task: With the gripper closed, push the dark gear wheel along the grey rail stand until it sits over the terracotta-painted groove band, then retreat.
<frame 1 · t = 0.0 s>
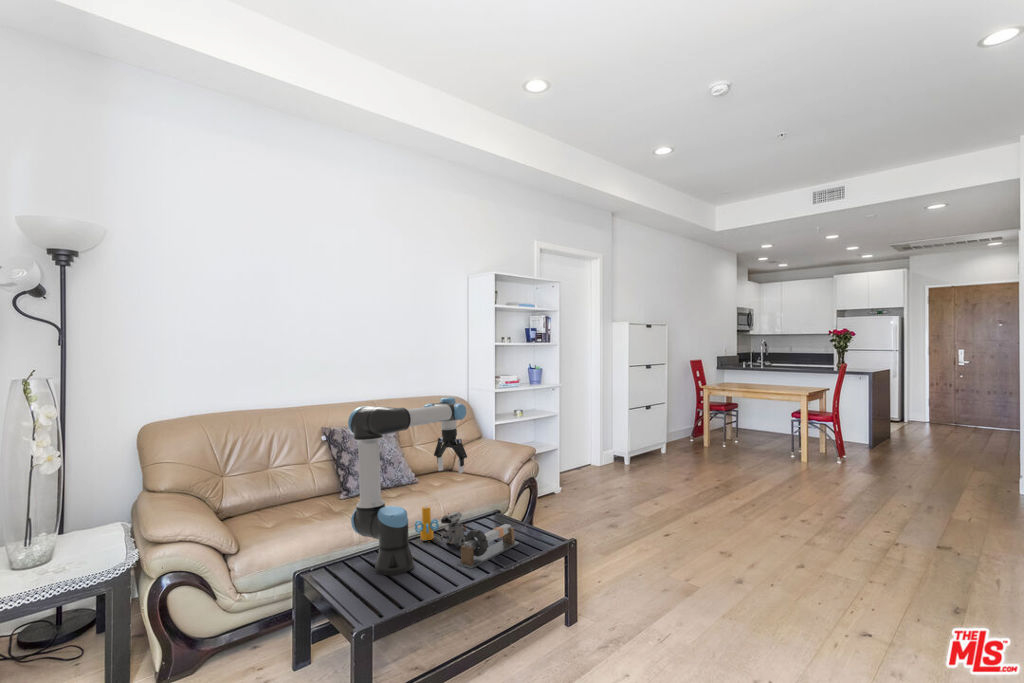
hand: (450, 471, 256), 28 cm above the table, fingers open, 13 cm apart
grey rail stand: (489, 553, 219), on the table
figurine: (452, 548, 228), on the table
yellow blue looped tower: (427, 540, 240), on the table
dark gear wheel: (476, 542, 212), point 7 cm above the table, slide at 0.0 cm
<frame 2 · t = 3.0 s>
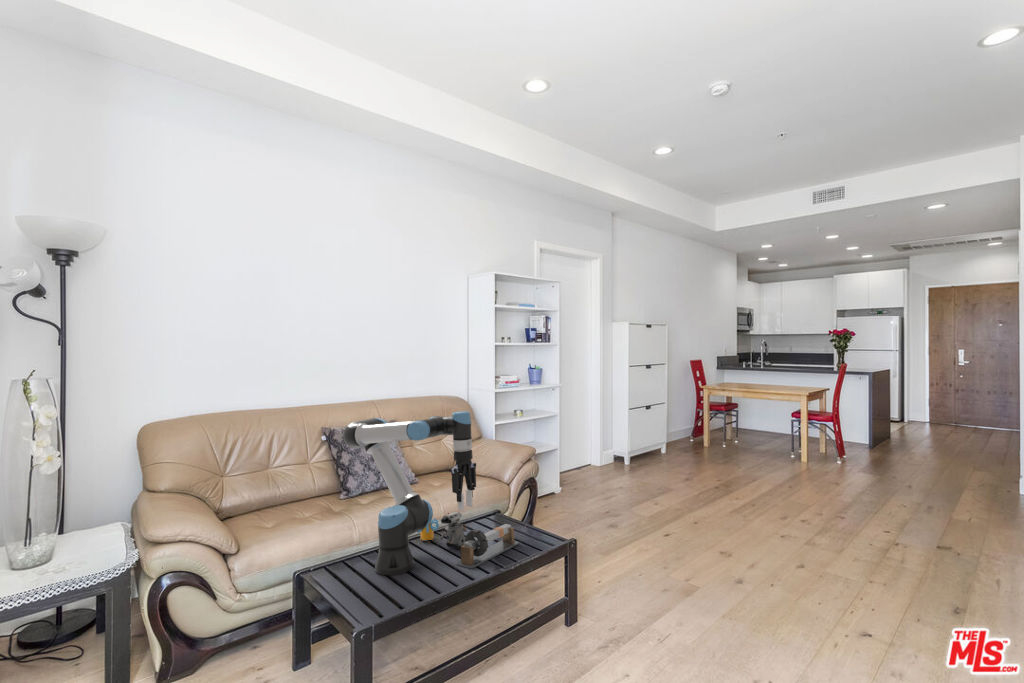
hand: (465, 507, 208), 23 cm above the table, fingers open, 4 cm apart
nothing on the table moved.
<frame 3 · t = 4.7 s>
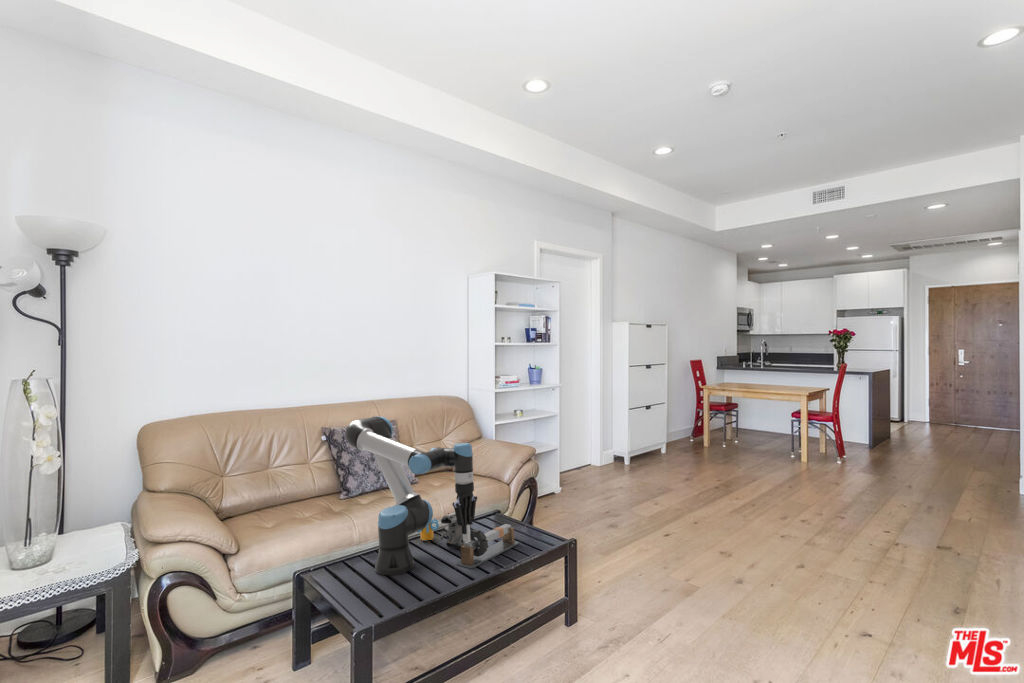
hand: (466, 541, 208), 9 cm above the table, fingers closed
nothing on the table moved.
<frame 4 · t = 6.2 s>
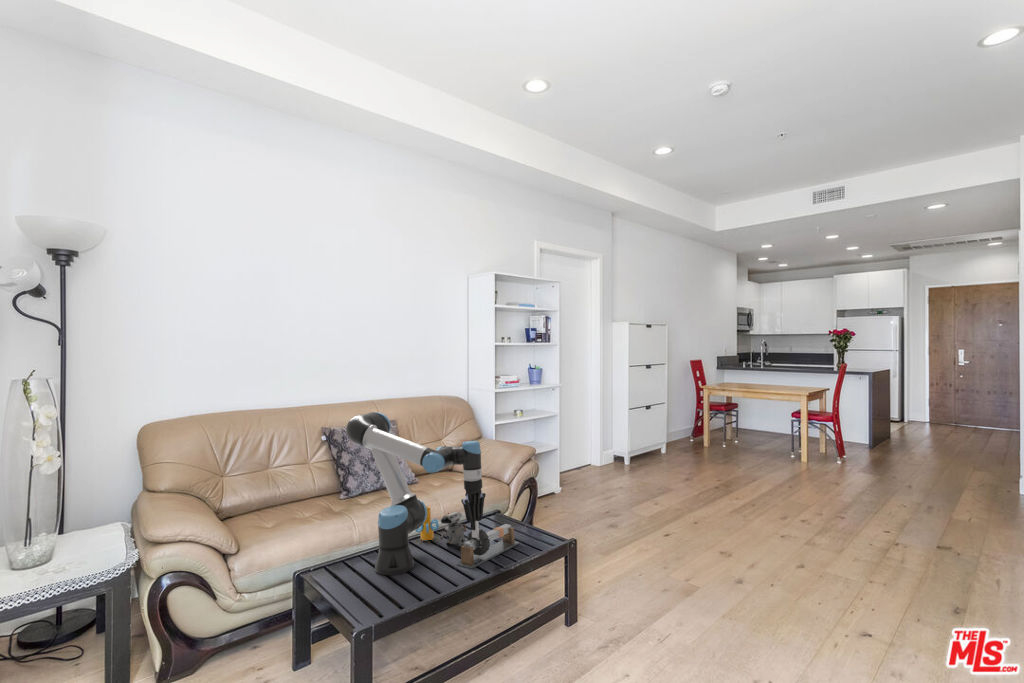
hand: (475, 537, 212), 10 cm above the table, fingers closed
dark gear wheel: (478, 541, 213), point 7 cm above the table, slide at 1.3 cm, touching gripper
everything else where it was.
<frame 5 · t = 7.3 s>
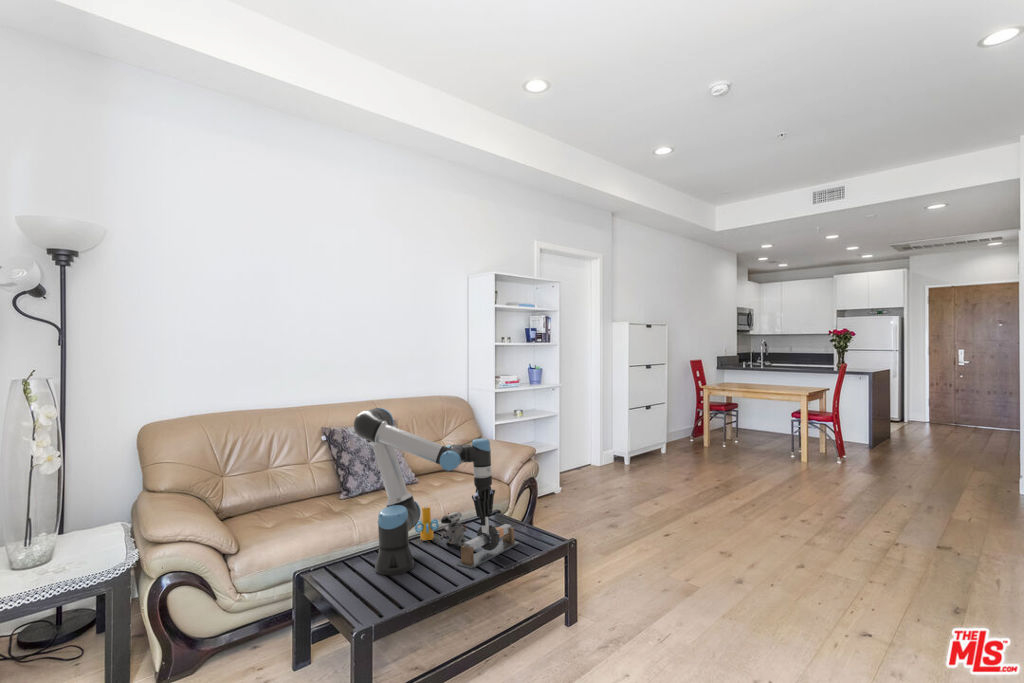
hand: (485, 532, 217), 10 cm above the table, fingers closed
dark gear wheel: (488, 537, 219), point 7 cm above the table, slide at 7.8 cm, touching gripper
everything else where it was.
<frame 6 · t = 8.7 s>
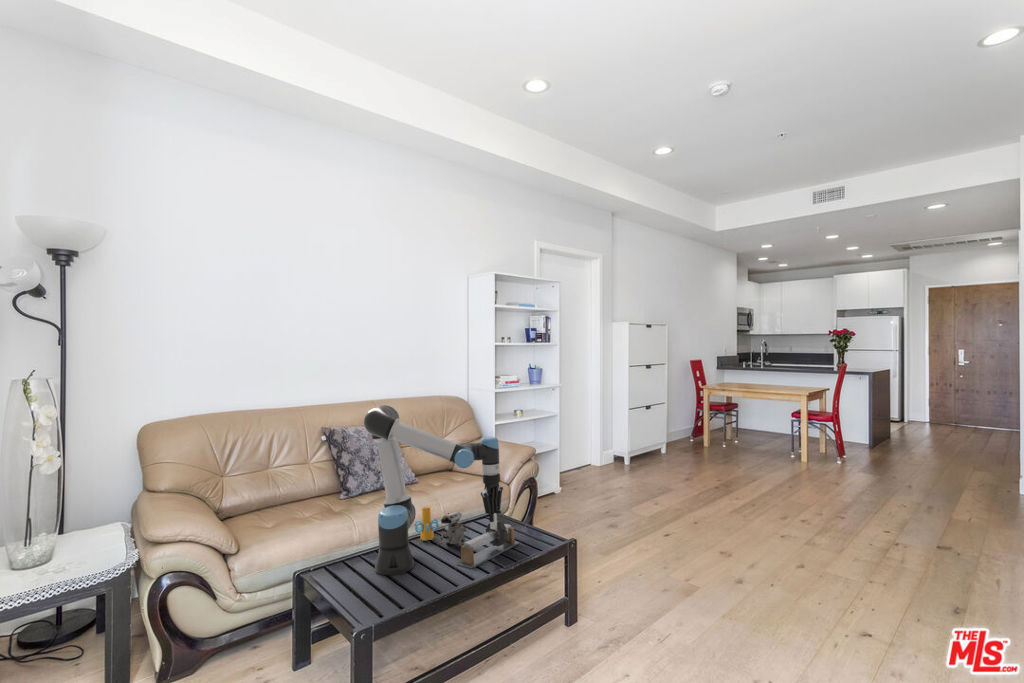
hand: (493, 528, 222), 9 cm above the table, fingers closed
dark gear wheel: (496, 533, 223), point 7 cm above the table, slide at 13.6 cm, touching gripper
everything else where it was.
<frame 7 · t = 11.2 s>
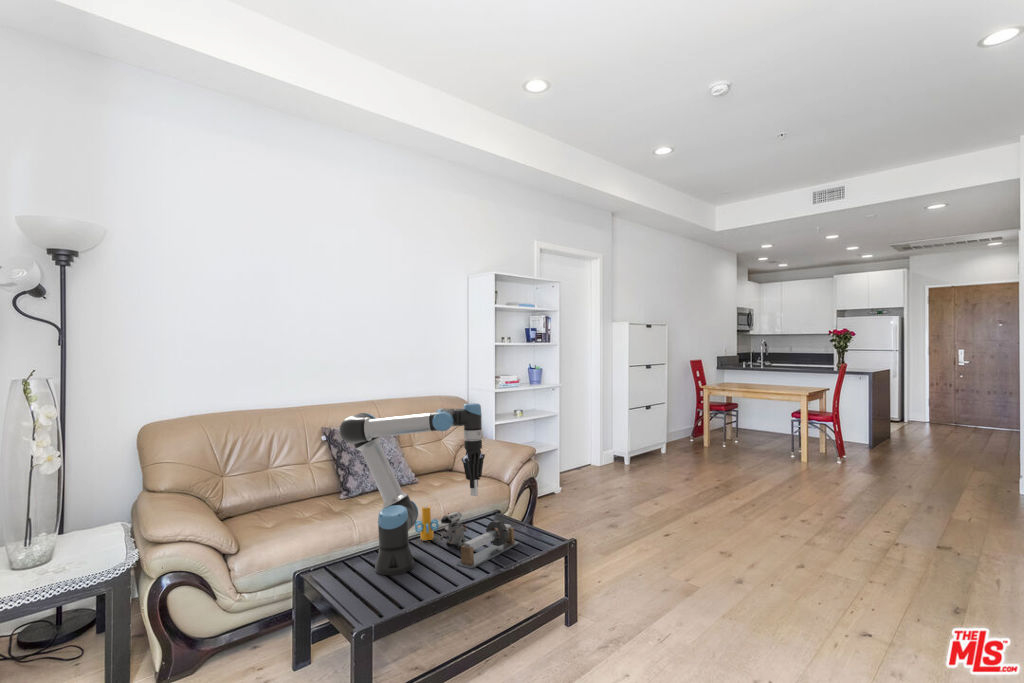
hand: (474, 495, 220), 25 cm above the table, fingers closed
dark gear wheel: (497, 533, 224), point 7 cm above the table, slide at 13.9 cm
everything else where it was.
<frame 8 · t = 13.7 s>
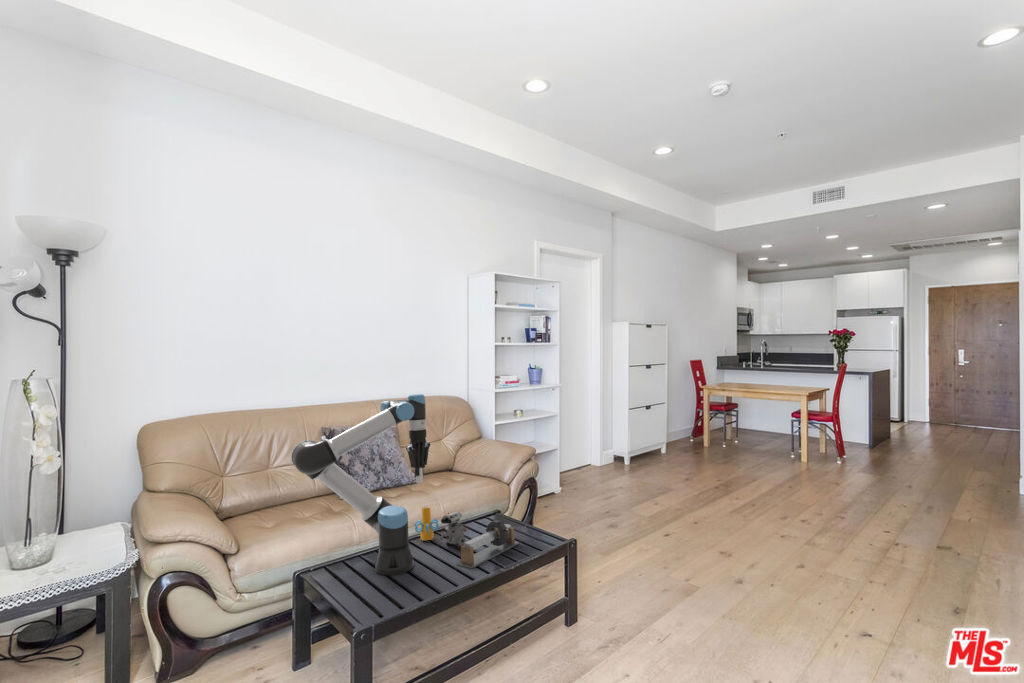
hand: (419, 482, 228), 29 cm above the table, fingers closed
nothing on the table moved.
at the end: dark gear wheel slide at 13.9 cm; the gripper is holding nothing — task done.
